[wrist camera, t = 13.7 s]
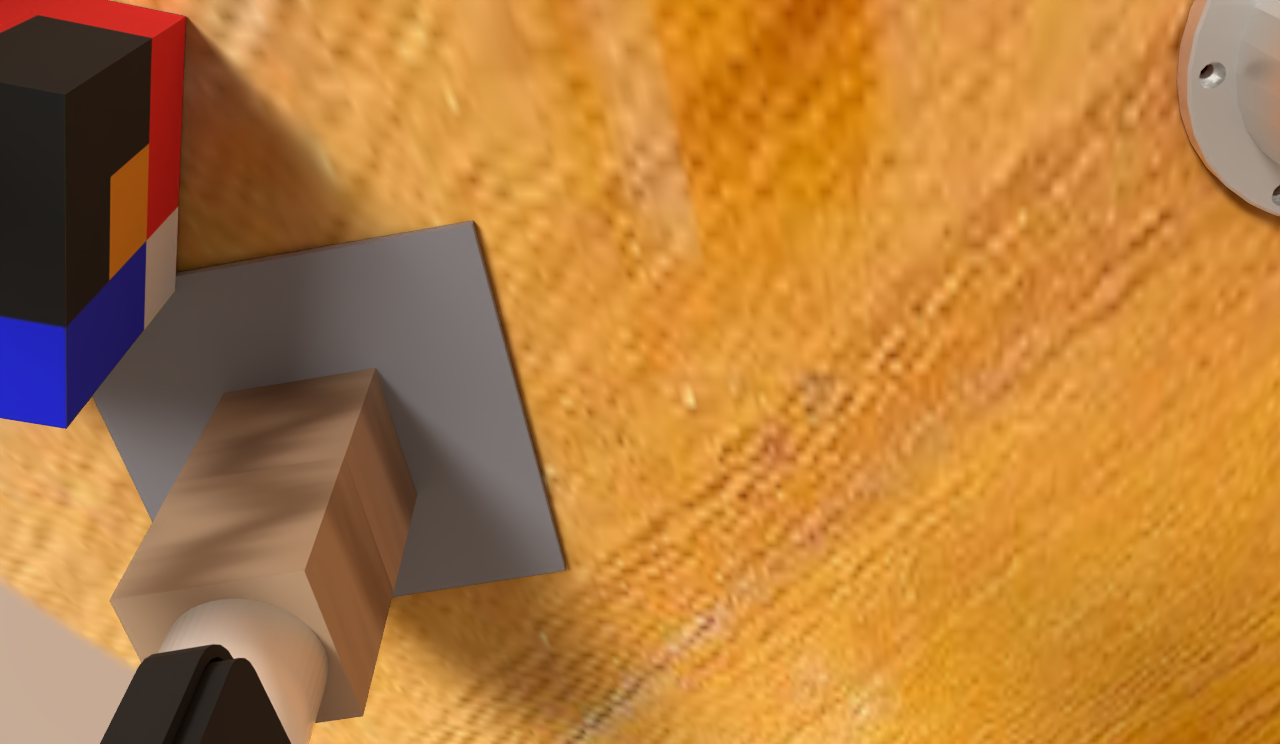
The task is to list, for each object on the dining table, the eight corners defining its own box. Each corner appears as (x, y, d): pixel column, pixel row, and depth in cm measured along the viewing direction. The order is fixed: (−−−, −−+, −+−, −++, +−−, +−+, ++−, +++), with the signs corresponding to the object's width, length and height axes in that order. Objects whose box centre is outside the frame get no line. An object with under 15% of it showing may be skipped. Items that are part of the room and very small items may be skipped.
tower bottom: (375, 367, 46) (344, 456, 40) (417, 494, 49) (393, 592, 43) (223, 392, 46) (173, 483, 41) (274, 516, 49) (234, 615, 44)
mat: (473, 220, 43) (472, 224, 43) (565, 564, 51) (564, 570, 51) (50, 294, 44) (46, 299, 44) (204, 619, 52) (201, 626, 52)
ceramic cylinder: (299, 587, 36) (245, 742, 30) (349, 707, 38) (307, 870, 33) (138, 611, 36) (58, 769, 31) (197, 729, 38) (132, 894, 33)
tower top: (344, 456, 40) (304, 570, 35) (393, 592, 43) (362, 716, 38) (173, 483, 41) (109, 600, 36) (233, 616, 44) (182, 741, 39)
